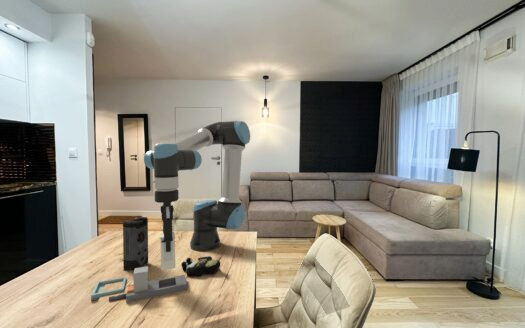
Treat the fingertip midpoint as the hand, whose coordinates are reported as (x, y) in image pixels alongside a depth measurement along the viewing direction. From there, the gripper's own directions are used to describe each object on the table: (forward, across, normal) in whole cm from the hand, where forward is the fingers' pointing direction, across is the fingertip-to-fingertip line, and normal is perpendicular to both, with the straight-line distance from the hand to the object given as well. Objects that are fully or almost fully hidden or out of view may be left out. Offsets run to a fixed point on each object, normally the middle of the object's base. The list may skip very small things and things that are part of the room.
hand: (167, 257), depth 82 cm
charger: (+3, 0, 0) cm, 3 cm away
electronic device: (+12, -24, -11) cm, 29 cm away
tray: (+12, -8, -18) cm, 23 cm away
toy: (+12, -9, +13) cm, 20 cm away
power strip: (+12, 0, -6) cm, 13 cm away
